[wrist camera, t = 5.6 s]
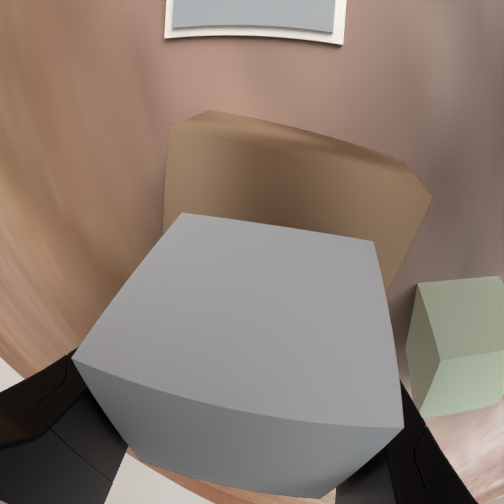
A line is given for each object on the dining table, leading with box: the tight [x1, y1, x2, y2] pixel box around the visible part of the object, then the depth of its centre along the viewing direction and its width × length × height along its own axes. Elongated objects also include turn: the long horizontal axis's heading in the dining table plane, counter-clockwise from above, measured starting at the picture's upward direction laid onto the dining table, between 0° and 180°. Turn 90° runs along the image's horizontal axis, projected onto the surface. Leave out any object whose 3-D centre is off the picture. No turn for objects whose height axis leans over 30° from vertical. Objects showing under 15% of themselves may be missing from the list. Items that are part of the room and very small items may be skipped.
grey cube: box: [71, 213, 404, 499], centre depth 7 cm, size 5×5×5 cm
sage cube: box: [405, 275, 504, 419], centre depth 13 cm, size 5×5×5 cm
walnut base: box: [163, 110, 433, 294], centre depth 12 cm, size 8×8×4 cm
